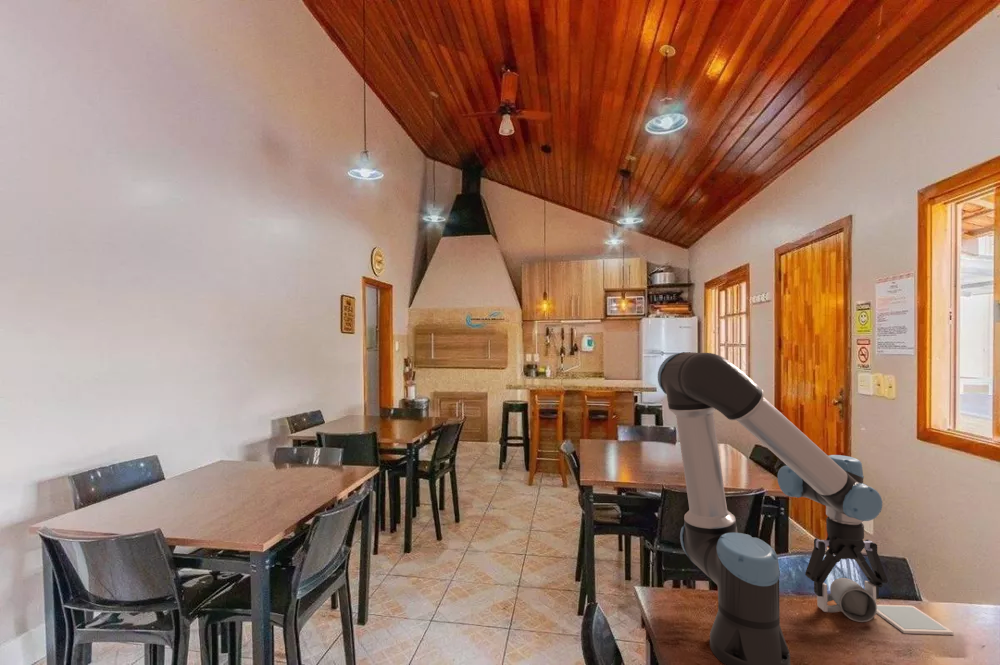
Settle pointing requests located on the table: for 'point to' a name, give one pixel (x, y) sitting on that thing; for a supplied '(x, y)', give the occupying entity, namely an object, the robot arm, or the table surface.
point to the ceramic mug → (851, 600)
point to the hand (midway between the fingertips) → (846, 609)
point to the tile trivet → (911, 620)
